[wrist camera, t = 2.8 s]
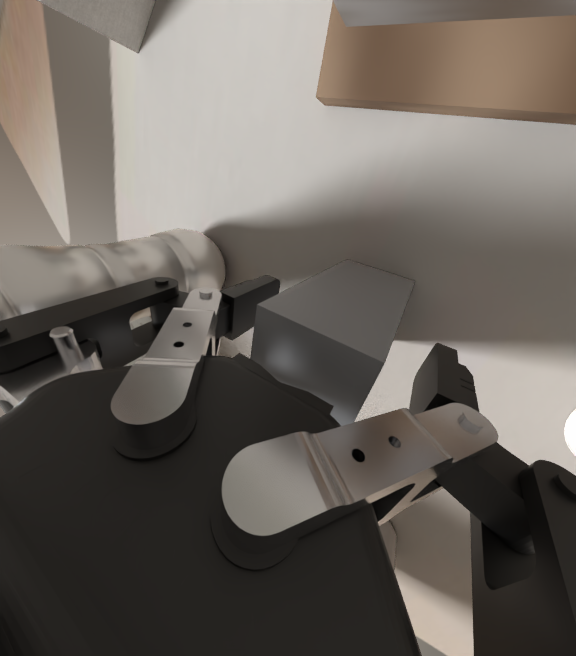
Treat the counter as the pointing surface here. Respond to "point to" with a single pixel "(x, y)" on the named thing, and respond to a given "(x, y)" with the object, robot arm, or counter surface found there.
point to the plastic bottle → (104, 269)
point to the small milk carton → (110, 17)
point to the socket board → (453, 58)
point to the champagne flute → (571, 432)
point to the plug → (332, 333)
